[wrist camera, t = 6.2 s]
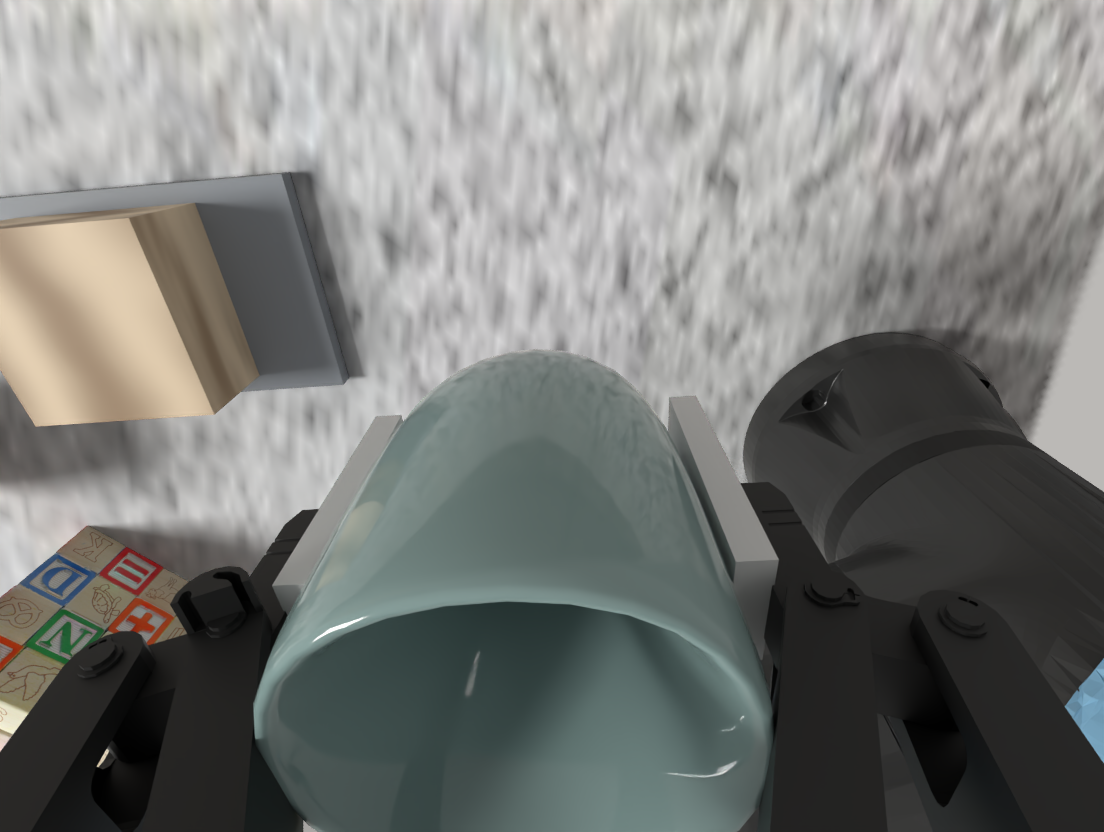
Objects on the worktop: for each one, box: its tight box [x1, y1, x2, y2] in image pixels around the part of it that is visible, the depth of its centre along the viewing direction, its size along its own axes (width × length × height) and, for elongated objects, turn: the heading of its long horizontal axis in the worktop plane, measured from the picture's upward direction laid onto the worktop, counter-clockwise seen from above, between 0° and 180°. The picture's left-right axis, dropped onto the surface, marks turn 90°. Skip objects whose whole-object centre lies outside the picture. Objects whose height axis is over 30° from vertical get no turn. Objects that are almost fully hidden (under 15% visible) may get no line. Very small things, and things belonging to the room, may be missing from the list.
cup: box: [253, 349, 775, 832], centre depth 12 cm, size 8×8×10 cm
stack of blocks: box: [0, 526, 188, 767], centre depth 40 cm, size 21×6×12 cm, turn 46°
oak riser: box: [0, 203, 260, 427], centre depth 29 cm, size 10×10×5 cm
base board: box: [0, 172, 349, 392], centre depth 31 cm, size 20×12×1 cm, turn 95°
